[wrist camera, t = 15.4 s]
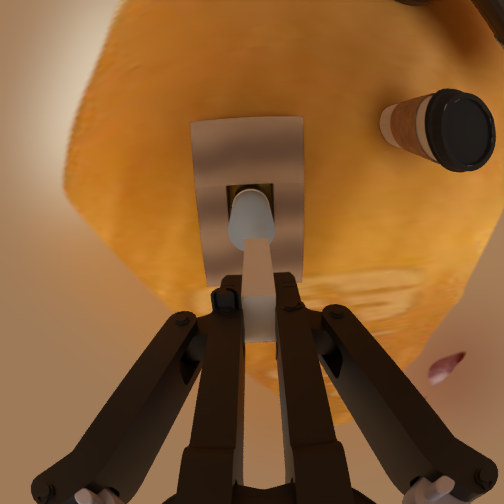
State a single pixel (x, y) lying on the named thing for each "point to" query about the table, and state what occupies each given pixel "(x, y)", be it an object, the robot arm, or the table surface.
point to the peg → (250, 216)
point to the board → (249, 172)
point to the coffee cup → (442, 129)
